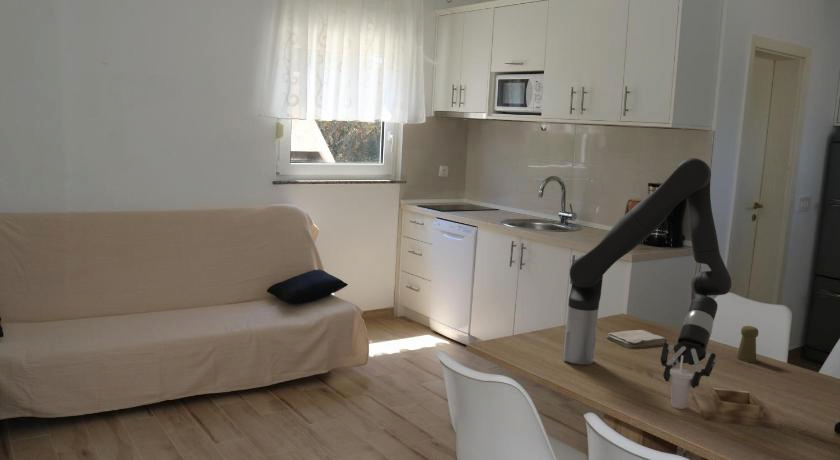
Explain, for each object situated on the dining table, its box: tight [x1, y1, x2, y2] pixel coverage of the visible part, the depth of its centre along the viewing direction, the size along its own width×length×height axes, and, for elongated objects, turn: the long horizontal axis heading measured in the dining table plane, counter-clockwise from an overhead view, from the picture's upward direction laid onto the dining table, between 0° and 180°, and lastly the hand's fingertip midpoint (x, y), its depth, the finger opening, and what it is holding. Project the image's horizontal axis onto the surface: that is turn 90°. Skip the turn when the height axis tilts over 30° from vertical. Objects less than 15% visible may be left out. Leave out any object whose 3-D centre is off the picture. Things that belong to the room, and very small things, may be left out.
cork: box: [735, 325, 759, 363], centre depth 237 cm, size 6×6×11 cm
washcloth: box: [606, 329, 668, 349], centre depth 251 cm, size 12×18×3 cm, turn 118°
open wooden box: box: [691, 387, 781, 430], centre depth 192 cm, size 18×16×4 cm
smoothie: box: [670, 355, 695, 410], centre depth 193 cm, size 6×6×14 cm
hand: (679, 383), depth 192 cm, fingers closed on smoothie, 6 cm apart
